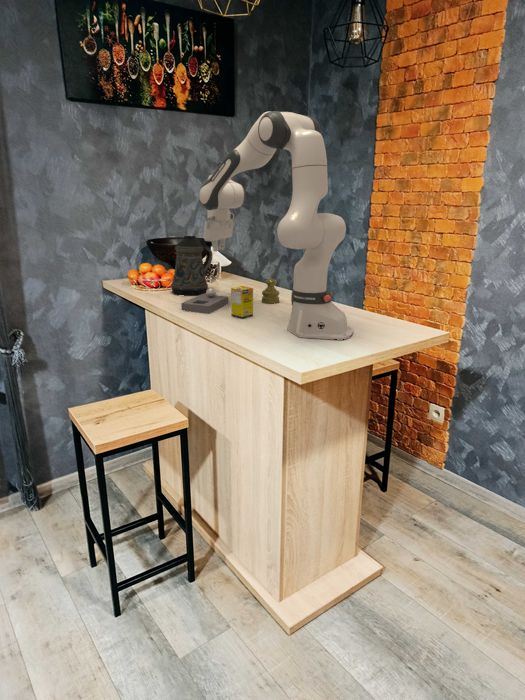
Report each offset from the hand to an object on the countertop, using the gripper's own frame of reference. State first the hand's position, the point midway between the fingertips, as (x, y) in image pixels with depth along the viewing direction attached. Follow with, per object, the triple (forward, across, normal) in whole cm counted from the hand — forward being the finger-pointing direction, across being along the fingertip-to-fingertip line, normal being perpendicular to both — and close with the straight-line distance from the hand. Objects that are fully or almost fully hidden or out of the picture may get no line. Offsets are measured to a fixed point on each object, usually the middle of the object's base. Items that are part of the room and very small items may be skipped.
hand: (218, 250), depth 203 cm
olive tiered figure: (+21, +6, -21) cm, 31 cm away
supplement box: (+21, -20, -19) cm, 35 cm away
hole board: (+21, -13, 0) cm, 25 cm away
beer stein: (+21, +10, +19) cm, 30 cm away
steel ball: (+16, -8, 0) cm, 18 cm away
